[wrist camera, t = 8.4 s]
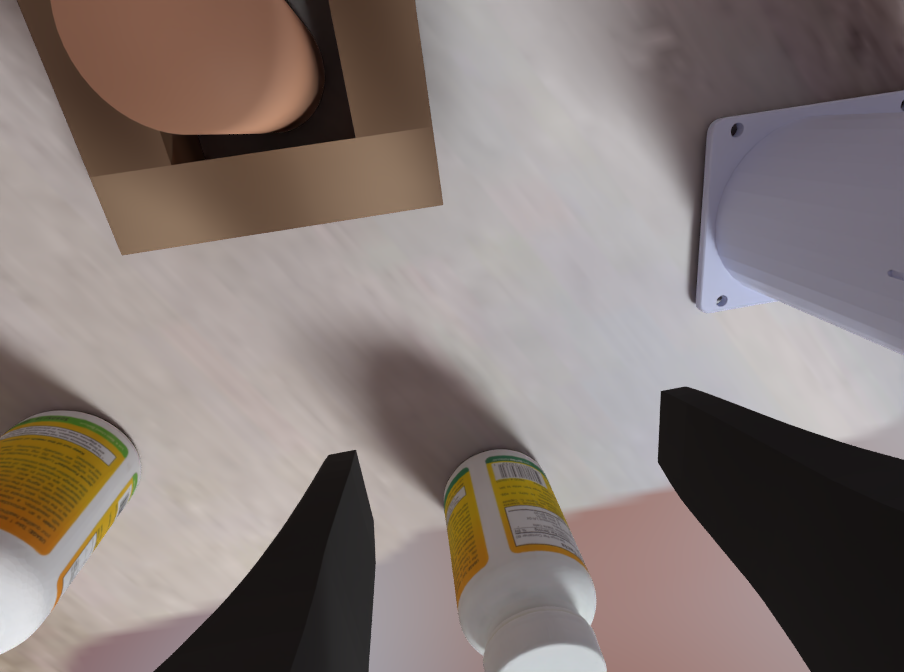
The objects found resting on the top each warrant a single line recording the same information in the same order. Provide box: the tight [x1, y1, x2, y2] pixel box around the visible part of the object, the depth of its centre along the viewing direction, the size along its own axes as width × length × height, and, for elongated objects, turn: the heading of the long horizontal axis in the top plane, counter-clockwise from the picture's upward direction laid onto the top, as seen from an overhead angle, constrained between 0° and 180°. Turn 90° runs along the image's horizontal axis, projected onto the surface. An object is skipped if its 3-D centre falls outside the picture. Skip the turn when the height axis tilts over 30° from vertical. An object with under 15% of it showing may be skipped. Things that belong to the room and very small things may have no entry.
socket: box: [17, 0, 443, 255], centre depth 15 cm, size 10×10×3 cm
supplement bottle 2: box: [444, 449, 607, 672], centre depth 21 cm, size 5×5×10 cm
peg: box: [50, 0, 325, 135], centre depth 13 cm, size 4×4×8 cm
